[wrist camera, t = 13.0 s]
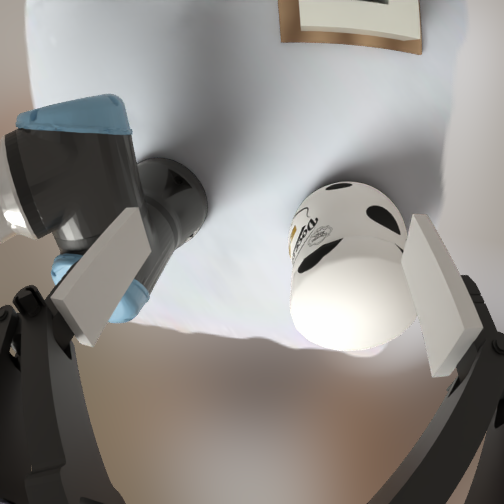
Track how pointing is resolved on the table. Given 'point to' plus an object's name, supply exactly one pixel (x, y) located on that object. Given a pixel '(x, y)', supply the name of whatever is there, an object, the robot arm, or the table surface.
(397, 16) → the well
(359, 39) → the board
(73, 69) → the table surface
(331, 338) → the milk container
